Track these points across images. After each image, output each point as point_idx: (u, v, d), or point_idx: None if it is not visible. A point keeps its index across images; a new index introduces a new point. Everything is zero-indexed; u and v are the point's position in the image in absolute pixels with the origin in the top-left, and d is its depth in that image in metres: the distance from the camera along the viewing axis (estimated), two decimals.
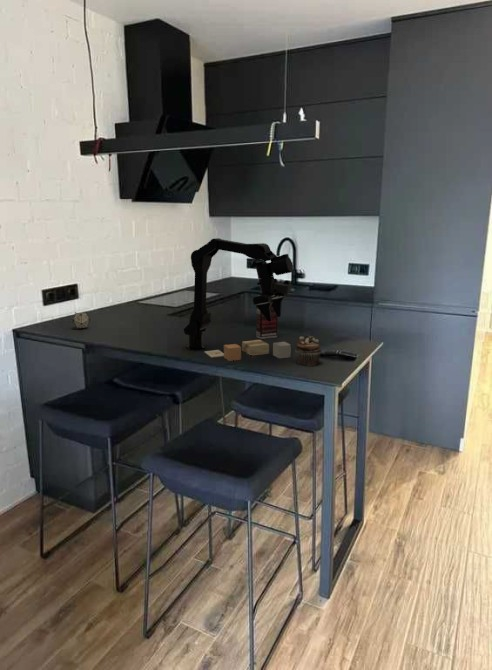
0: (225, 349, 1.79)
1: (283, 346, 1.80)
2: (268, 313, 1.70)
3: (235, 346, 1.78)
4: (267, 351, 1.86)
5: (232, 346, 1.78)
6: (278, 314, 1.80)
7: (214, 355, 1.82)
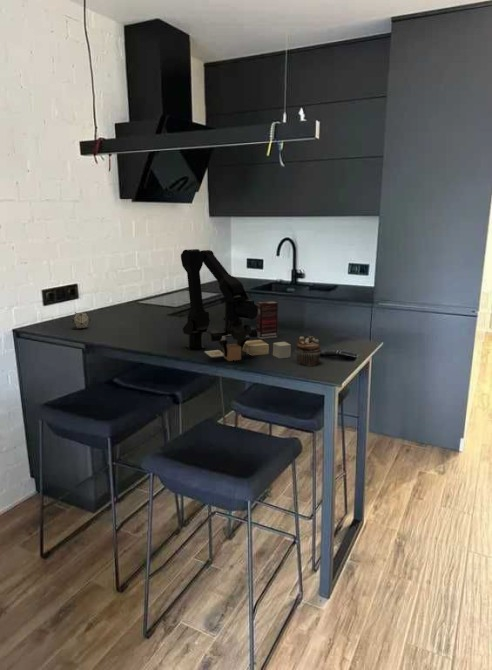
0: None
1: (283, 346, 1.80)
2: (224, 349, 1.77)
3: (235, 346, 1.78)
4: (266, 352, 1.86)
5: (232, 346, 1.78)
6: None
7: (214, 355, 1.82)
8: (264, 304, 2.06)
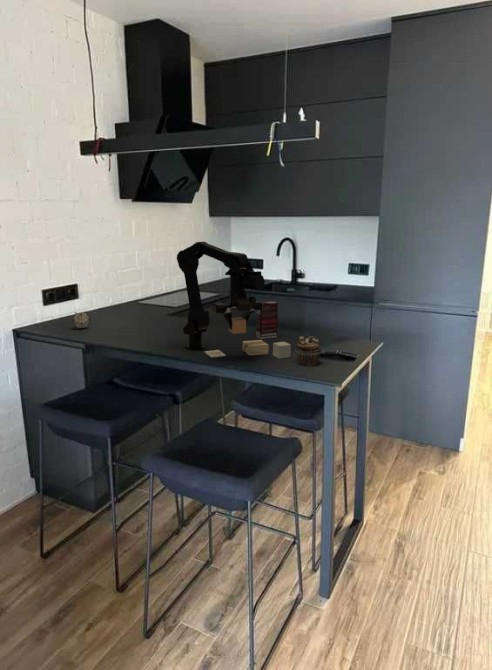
0: None
1: (283, 346, 1.80)
2: (229, 322, 1.76)
3: (240, 319, 1.78)
4: (266, 352, 1.86)
5: (237, 319, 1.77)
6: None
7: (214, 355, 1.82)
8: (264, 304, 2.06)
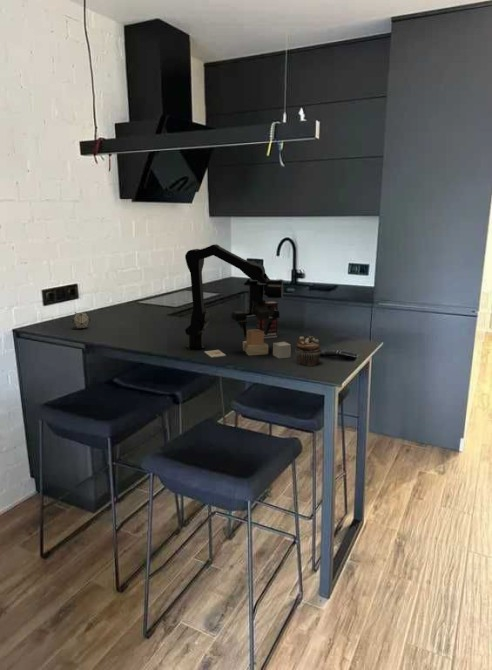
0: (248, 334, 1.87)
1: (283, 346, 1.80)
2: (243, 329, 1.84)
3: (258, 331, 1.87)
4: (266, 352, 1.86)
5: (255, 331, 1.86)
6: (265, 332, 1.89)
7: (214, 355, 1.82)
8: None
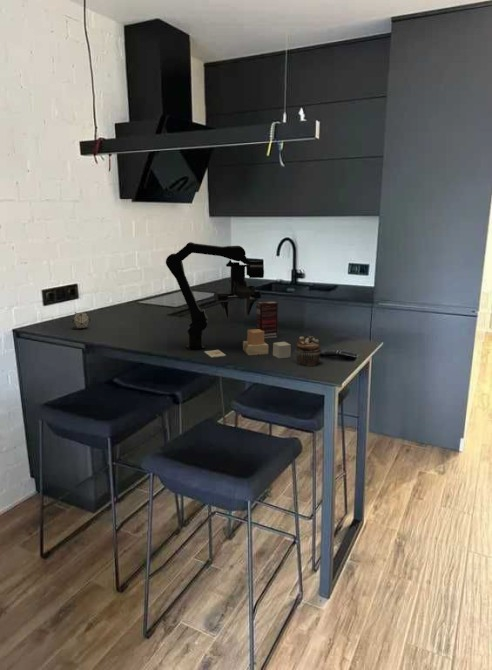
0: (249, 334, 1.87)
1: (283, 346, 1.80)
2: (225, 310, 1.89)
3: (258, 331, 1.87)
4: (266, 352, 1.86)
5: (256, 331, 1.86)
6: (247, 313, 1.94)
7: (214, 355, 1.82)
8: (264, 304, 2.06)
